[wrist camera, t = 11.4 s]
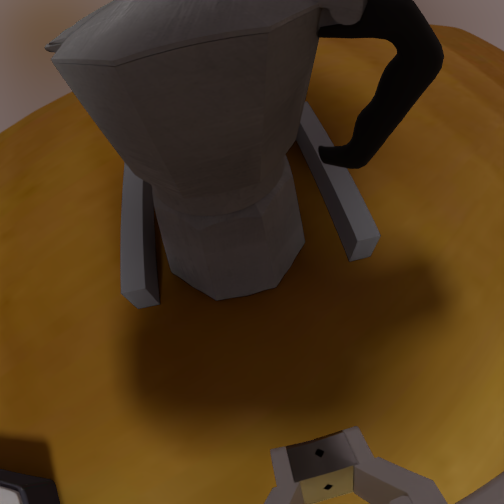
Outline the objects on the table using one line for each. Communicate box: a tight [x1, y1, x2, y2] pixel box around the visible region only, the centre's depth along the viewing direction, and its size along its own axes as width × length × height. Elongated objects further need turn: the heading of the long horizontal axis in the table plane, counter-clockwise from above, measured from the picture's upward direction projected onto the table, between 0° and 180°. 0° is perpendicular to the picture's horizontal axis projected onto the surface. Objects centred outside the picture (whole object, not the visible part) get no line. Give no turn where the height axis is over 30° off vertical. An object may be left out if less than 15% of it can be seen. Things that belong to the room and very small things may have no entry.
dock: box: [121, 102, 381, 309], centre depth 21 cm, size 15×14×2 cm
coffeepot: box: [45, 0, 444, 301], centre depth 13 cm, size 15×9×18 cm, turn 80°
